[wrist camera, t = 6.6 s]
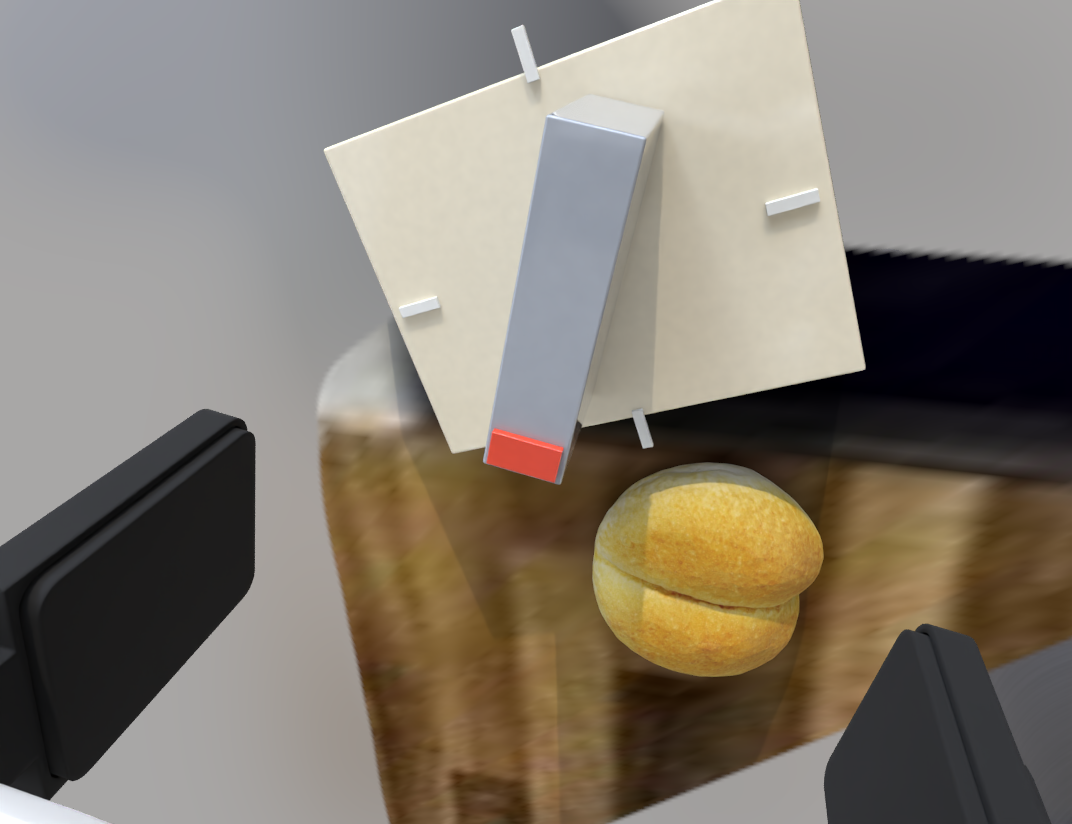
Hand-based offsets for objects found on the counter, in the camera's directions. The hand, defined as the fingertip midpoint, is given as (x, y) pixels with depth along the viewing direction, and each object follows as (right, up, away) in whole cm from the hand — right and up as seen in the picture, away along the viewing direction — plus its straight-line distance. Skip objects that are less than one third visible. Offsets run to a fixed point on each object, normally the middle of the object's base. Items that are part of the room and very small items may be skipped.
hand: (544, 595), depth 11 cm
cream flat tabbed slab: (+2, +9, +15) cm, 17 cm away
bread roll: (+7, -3, +20) cm, 21 cm away
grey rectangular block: (+2, +7, +12) cm, 14 cm away
